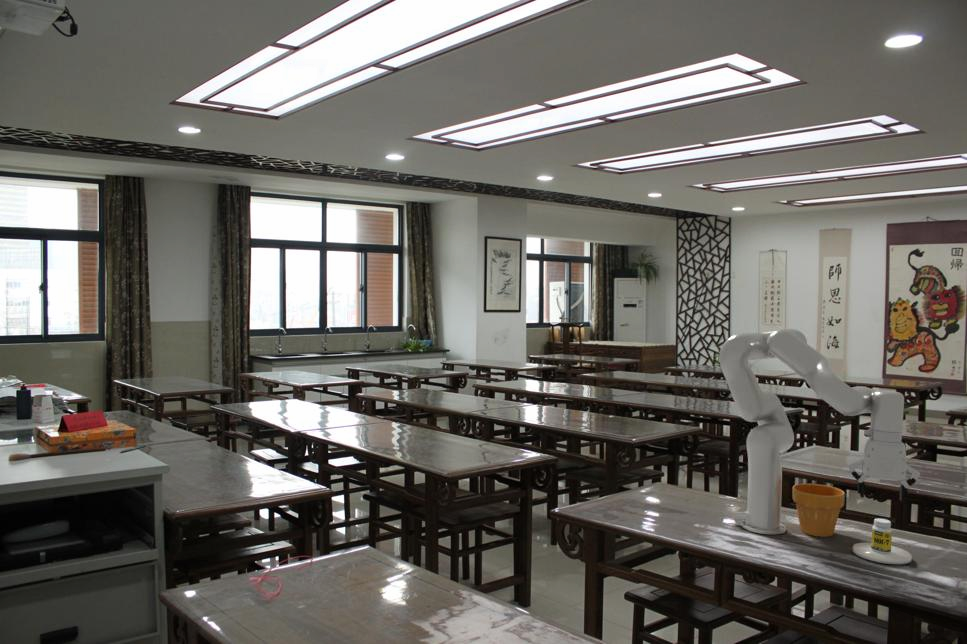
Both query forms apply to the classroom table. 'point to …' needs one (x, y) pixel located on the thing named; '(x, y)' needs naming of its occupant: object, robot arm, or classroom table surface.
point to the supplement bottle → (881, 536)
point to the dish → (892, 558)
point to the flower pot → (818, 508)
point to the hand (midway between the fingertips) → (881, 498)
